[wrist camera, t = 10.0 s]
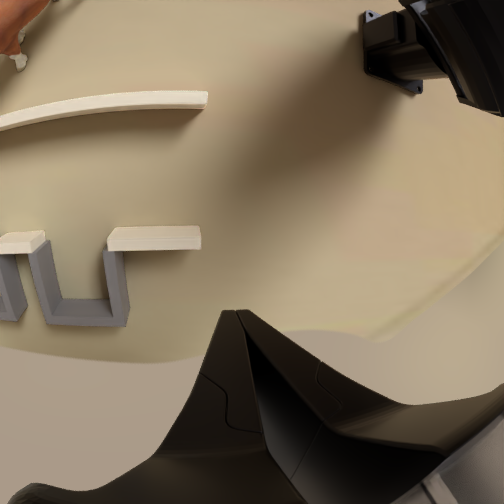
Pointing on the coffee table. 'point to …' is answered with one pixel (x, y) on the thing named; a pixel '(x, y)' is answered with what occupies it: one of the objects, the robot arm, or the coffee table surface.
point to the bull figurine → (17, 26)
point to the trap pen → (121, 238)
